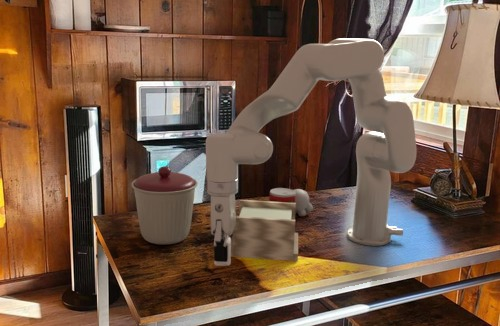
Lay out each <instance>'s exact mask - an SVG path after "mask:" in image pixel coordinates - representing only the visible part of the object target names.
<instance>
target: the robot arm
mask: <svg viewBox="0 0 500 326" xmlns="http://www.w3.org/2000/svg"><path fill="white" fill-rule="evenodd" d="M384 59H385V50H384V48H383V46H382V45H381V43H380V42H378V41H377V40H375V39H371V38H351V37H350V38H346V37H343V38H336V39H333V40H331V41H329V42H328V43H308V44H304V45H302V46H301V47H300V48H298V50H297V51H296V52H295V53H294V55H293V56H292V58H291V59H290V60H289V62H288V63H287V65H286V66H285V67H284V69H283V70H282V72H281V73H280V74H279V76H278V77H277V78H276V80H275V82H274V83H273V84H272V85H271V86H270V88H269V89H268V90H267V91H265V92H264V93H262V94H261V95H259V96H258V97H257V98H255V99H254V100H253V101H252V102H250V103H249V104H248V105H246V106H245V108H243V109H242V110H241V111H240V113H239V114H238V115H237V117H236V118H235V120H234V121H233V122H232V123H231V125H230V126H229V128H228V130H227V131H226V132H216V133H215V132H214V133H211V134H209V135H208V136H207V137H206V139H205V169H206V170H205V171H206V172H205V173H206V176H205V178H206V180H205V187H206V188H205V189H206V191H205V192H206V194H207V195H210V234H211V235H212V236H214V238H215V242H214V241H213V259H214V260H213V262H214V261H219V262H227V260H228V246H226V241H227V235H228V236H229V238H231V236H233V230H234V227H235V224H236V216H237V214H236V196H235V195H236V194H237V193H239V165H260V164H263V163H265V162H267V161H268V160H269V159H270V158H271V157H272V154H273V151H274V145H273V142H272V140H271V139H270V138H269V137H268V136H267V135H266V134H263V133H262V132H260V130H261V129H262V128H263V127H265V125H268V123H270V122H271V121H273V120H274V119H277V118H280V117H282V116H287V115H290V114H291V113H294V112H296V111H298V110H299V109H300V108H301V106H302V104H303V103H304V101H305V100H306V99H307V97H309V94H310V93H311V91H313V89H314V88H315V86H317V85H316V84H317V83H318V82H319V81H326V82H336V81H337V82H338V81H344V80H347V81H349V85H350V88H351V92H352V99H353V105H354V110H355V112H354V113H355V116H356V121H357V124H358V125H359V126H360V127H361V128H363V129H365V130H368V131H367V132H365V133H362V135H360V136H359V138H358V139H357V142H356V146H355V147H356V148H355V155H356V157H355V158H356V163H357V164H356V166H357V171H356V173H357V175H356V189H355V198H354V199H355V200H354V209H353V210H354V212H353V223H352V227H350V228H349V229H348V230H347V231H346V237H347V238H348V239H349V240H350V241H352V242H354V243H356V244H360V245H365V246H372V247H377V246H378V247H379V246H385V245H388V244H389V243H391V238H392V237H391V236H394V235H395V236H401V237H402V236H403V234H404V230H403V228H398V227H397V226H391V225H390V226H389V224H388V214H389V208H390V207H389V205H390V196H391V195H390V193H391V188H392V187H391V186H392V178H391V172H392V173H396V174H403V173H406V172H409V171H410V170H411V169H412V168H413V167H414V165H415V163H416V160H417V150H418V149H417V142H416V141H417V140H416V131H415V122H414V115H413V114H414V113H413V112H412V109H411V108H410V106H409V105H408V104H407V102H405V101H403V100H401V99H399V98H393V97H388V96H387V93H386V88H385V83H384V78H383V74H382V72H381V69H380V68H381V67H382V65H383V63H384V61H385V60H384ZM222 232H225V233H222ZM221 237H224V240H223V239H222V238H221Z"/></svg>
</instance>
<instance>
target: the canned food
mask: <svg viewBox="0 0 500 326" xmlns="http://www.w3.org/2000/svg"><path fill="white" fill-rule="evenodd" d="M294 190H295V189H292V188H286V187H285V188H284V187H276V188H272V189H270V191H269V200H268V201H271V202H287V203H295V198H296V194H295V193H296V192H295V191H294Z"/></svg>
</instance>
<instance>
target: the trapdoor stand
mask: <svg viewBox="0 0 500 326" xmlns="http://www.w3.org/2000/svg"><path fill="white" fill-rule="evenodd" d="M238 202H239V206H238V207H239V208H238V209H239V211H238V215H236V224H235V227H234V230H233V233H232V235H231V236H232V237H231V258H232V257H234V258H245V259H247V258H248V259H261V260H262V259H263V260H274V261H275V260H276V261H291V262H298V261H299V232H296V214H295V206H296V203H287V202H271V201H269V200H266V201H265V200H253V199H252V200H251V199H249V200H248V199H239V201H238ZM243 206H244V207H261V208H277V209H292V216H291V220H290V219H274V218H258V217H242V216H240V213H241V210H242V207H243Z"/></svg>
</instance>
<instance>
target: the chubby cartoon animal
mask: <svg viewBox="0 0 500 326" xmlns="http://www.w3.org/2000/svg"><path fill="white" fill-rule="evenodd" d="M293 190H294V191H295V192H296V193H295V194H296V198H295V203H296V206H295V215H296V214H298V216H299V217H300V218H301V217H305V216H306V215H307V212H308V213H310V212H312V211H313V210H314V207H313V205H312V203H310V196H309V194H308V191H306V190H303V189H301V188H296V189H293Z"/></svg>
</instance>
